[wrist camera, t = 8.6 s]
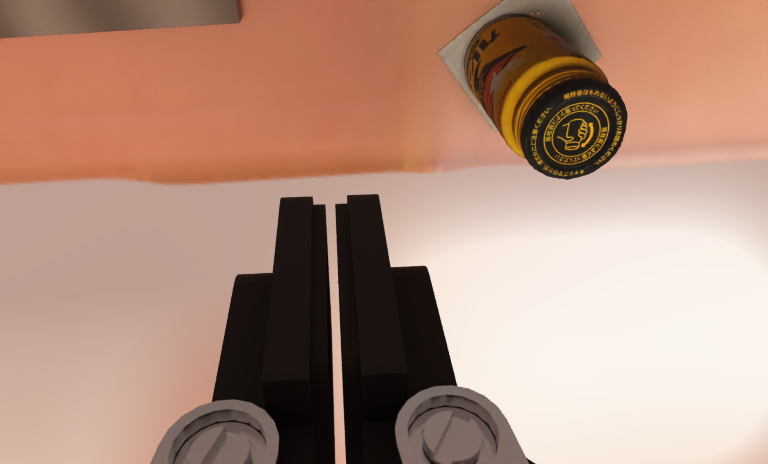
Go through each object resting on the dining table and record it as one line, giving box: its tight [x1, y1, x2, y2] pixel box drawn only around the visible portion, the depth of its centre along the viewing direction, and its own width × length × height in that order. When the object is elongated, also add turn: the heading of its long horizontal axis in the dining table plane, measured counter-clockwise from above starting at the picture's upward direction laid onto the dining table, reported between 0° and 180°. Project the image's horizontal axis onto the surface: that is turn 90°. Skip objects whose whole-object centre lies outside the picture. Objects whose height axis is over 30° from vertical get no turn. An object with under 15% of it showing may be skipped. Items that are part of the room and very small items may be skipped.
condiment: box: [438, 0, 627, 180], centre depth 32 cm, size 7×8×12 cm
